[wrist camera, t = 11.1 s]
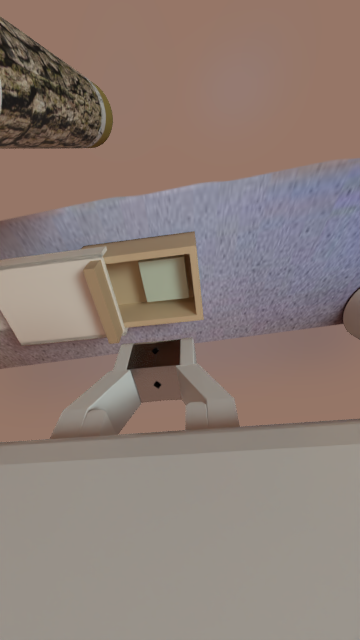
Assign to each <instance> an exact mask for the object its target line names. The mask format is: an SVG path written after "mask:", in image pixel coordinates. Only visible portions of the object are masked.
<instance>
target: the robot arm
mask: <svg viewBox="0 0 360 640" xmlns="http://www.w3.org/2000/svg"><path fill="white" fill-rule="evenodd" d="M343 323H344V326H345V328H346V330H347V331H348V332H349V333H350V334H351V335H353V336H355V337H356V338H358V339H360V289H359V290H358V291H357V292H356V293H355V294H354V295H353V296H352V297H351V299H350V300H349V302H348V304H347V305H346V308H345V310H344V314H343ZM181 399H182V401H183V402H184V403H185V405H186V430H182V431H168V432H152V433H138V434H123V435H118V434H119V432H120V431H121V430H122V428H123V427H124V426H125V424H126V423H127V421H128V420H129V419H130V418H131V416H132V415H133V414H134V412H135V411H136V410H137V408H138V407H139V406H140V404H141V402H151V401H161V400H181ZM0 640H360V419H349V420H334V421H319V422H304V423H289V424H274V425H259V426H245V427H240V426H239V421H238V416H237V410H236V405H235V400H234V398H233V397H232V396H231V395H230V394H229V393H228V392H227V391H226V390H225V389H224V388H223V387H222V386H220V385H219V384H218V383H217V382H216V381H215V380H214V379H213V378H212V377H211V376H210V375H209V374H208V373H207V372H206V371H205V370H204V369H203V368H202V367H201V366H200V365H198V364H197V363H196V355H195V347H194V340H193V337H191V338H183V339H178V340H168V341H156V342H143V343H131V344H123V345H121V347H120V350H119V353H118V357H117V359H116V363H115V366H114V369H113V371H110V372H108V373H107V374H106V375H105V376H103V377H102V378H101V379H100V380H99V381H98V382H96V383H95V384H94V385H93V386H92V387H90V388H89V389H88V390H87V391H86V392H85V393H84V394H82V395H81V396H80V397H79V398H78V399H76V400H75V401H74V402H73V403H72V404H70V405H69V406H68V407H67V408H66V409H65V410H63V412H62V414H61V416H60V418H59V420H58V422H57V425H56V427H55V429H54V431H53V433H52V435H51V437H50V439H46V440H31V441H16V442H1V443H0Z"/></svg>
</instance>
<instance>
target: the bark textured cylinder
mask: <svg viewBox="0 0 360 640" xmlns="http://www.w3.org/2000/svg"><path fill="white" fill-rule="evenodd" d="M112 123H113V117H112V110H111V107H110V104H109V102H108V100H107V98H106V96H105V94H104V93H103V91H102V90H101V89H100V88H99V87H98V86H97V85H95V84H94V83H93V82H91V81H90V80H88V79H87V78H86V77H85V76H83V75H81V74H80V73H79V72H78V71H76V70H75V69H73V68H72V67H70V66H69V65H68V64H66V63H65V62H63V61H62V60H61V59H59V58H58V57H56V56H55V55H54V54H52V53H51V52H49V51H48V50H47V49H45V48H44V47H42V46H41V45H40V44H38V43H37V42H35V41H34V40H33V39H31V38H30V37H28V36H27V35H25V34H24V33H23V32H21V31H20V30H19V29H17V28H16V27H14V26H13V25H12V24H10V23H9V22H7V21H6V20H4V19H3V18H2V17H0V148H94V147H98V146H100V145H101V144H103V143H104V142H105V141H106V140H107V138H108V137H109V135H110V133H111V129H112Z"/></svg>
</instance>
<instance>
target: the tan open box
mask: <svg viewBox="0 0 360 640" xmlns="http://www.w3.org/2000/svg"><path fill="white" fill-rule="evenodd" d="M103 246H106V248H107V251H106V252H105V254H104V255H103V258H104V261H105V264H106V268H107V271H108V274H109V277H110V281H111V284H112V287H113V291H114V294H115V297H116V300H117V304H118V307H119V310H120V313H121V317H122V320H123V323H124V326H125V328H127V327H137V326H147V325H157V324H166V323H176V322H186V321H196V320H204V319H203V309H202V299H201V289H200V279H199V269H198V259H197V249H196V240H195V232H187V233H179V234H172V235H164V236H157V237H149V238H141V239H134V240H126V241H119V242H111V243H104V244H96V245H88V246H84V247H83V248H82V249H88V248H95V247H103Z"/></svg>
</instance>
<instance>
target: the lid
mask: <svg viewBox="0 0 360 640" xmlns="http://www.w3.org/2000/svg"><path fill="white" fill-rule="evenodd" d="M106 251H107V248H106V246H103V247H95V248H88V249H80V250H72V251H65V252H57V253H49V254H42V255H34V256H27V257H19V258H11V259H4V260H0V310H1V312H2V314H3V315H4V317H5V318H6V320H7V322H8V323H9V325H10V327H11V328H12V330H13V332H14V333H15V335H16V337H17V338H18V340H19V342H20V343H21V345H22V346H24V345H34V344H44V343H54V342H64V341H75V340H85V339H95V338H105V337H107V338H108V341H109V344H112V343H119V342H120V339H121V336H125V335H126V334H127V330H128V327H127V328H125V326H124V323H123V320H122V317H121V313H120V310H119V307H118V304H117V300H116V297H115V294H114V291H113V287H112V284H111V281H110V277H109V274H108V271H107V268H106V264H105V261H104V258H103V255H104V254H105V252H106Z"/></svg>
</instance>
